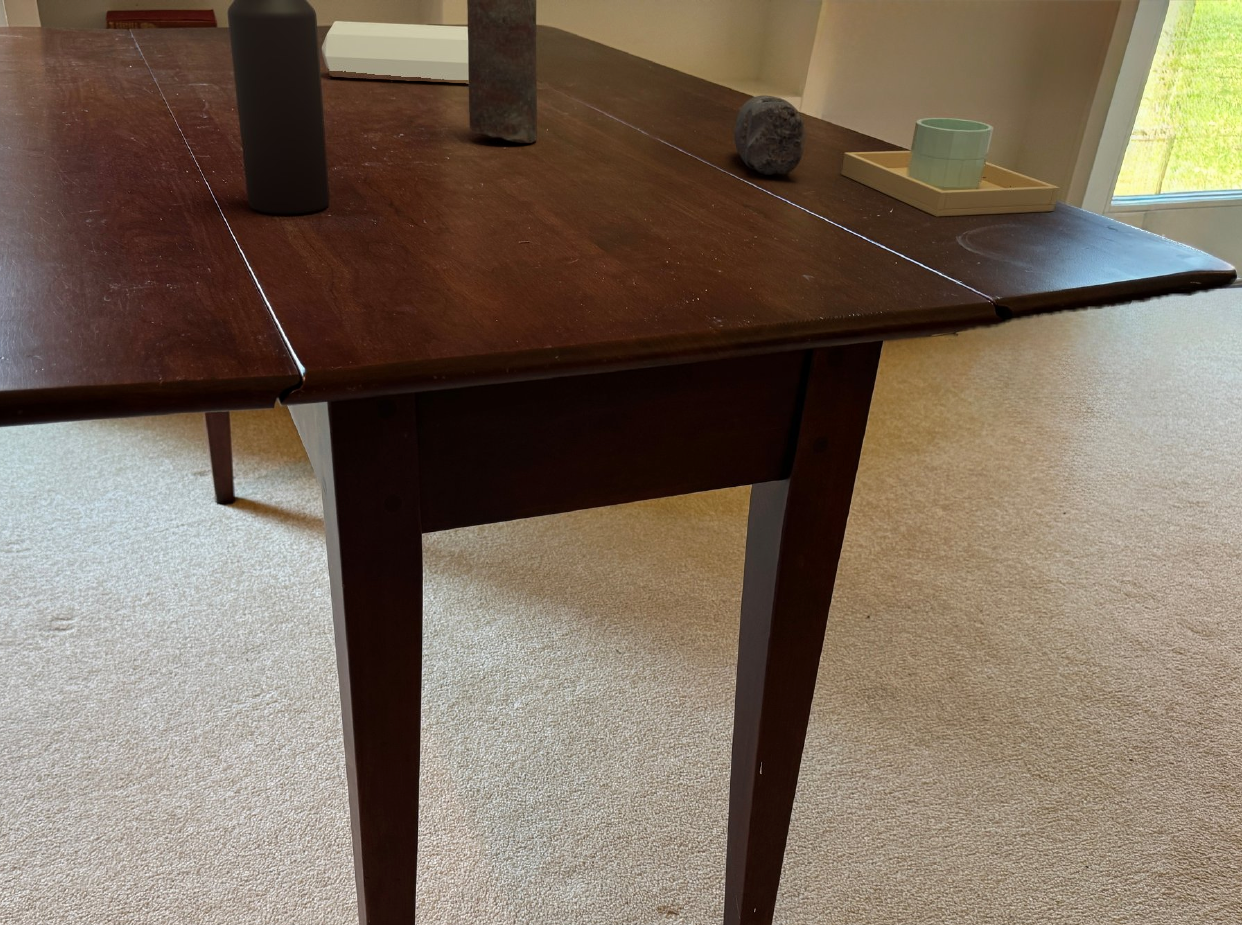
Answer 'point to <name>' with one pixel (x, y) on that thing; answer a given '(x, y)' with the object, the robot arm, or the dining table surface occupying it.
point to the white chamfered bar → (398, 50)
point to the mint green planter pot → (949, 153)
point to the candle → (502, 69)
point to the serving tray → (988, 198)
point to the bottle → (280, 105)
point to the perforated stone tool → (769, 135)
